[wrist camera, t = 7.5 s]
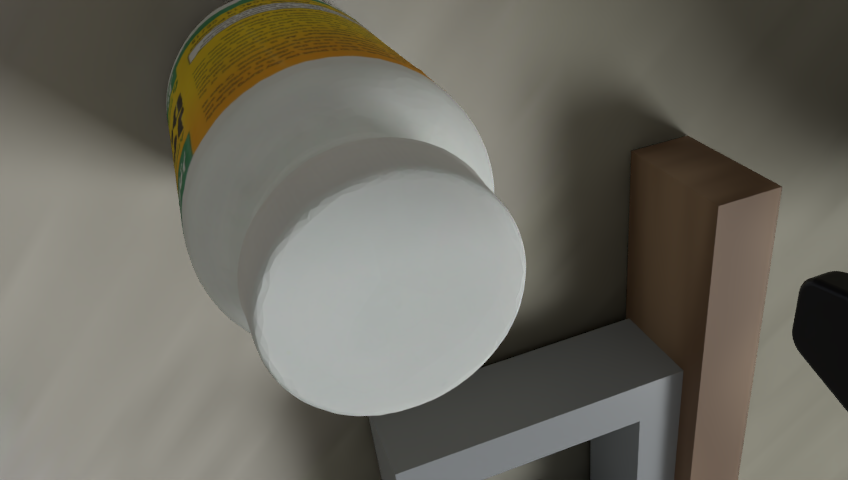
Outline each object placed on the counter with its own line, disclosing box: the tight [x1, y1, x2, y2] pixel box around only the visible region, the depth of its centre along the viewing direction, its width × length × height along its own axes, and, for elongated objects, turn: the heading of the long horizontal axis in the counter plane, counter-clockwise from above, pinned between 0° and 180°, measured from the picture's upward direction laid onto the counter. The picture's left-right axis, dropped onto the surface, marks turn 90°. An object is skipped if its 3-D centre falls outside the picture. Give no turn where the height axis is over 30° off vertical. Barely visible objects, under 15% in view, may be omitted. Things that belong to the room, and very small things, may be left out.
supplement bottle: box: [166, 0, 526, 416], centre depth 14 cm, size 5×5×10 cm
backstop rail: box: [626, 136, 782, 480], centre depth 27 cm, size 2×22×4 cm, turn 7°
